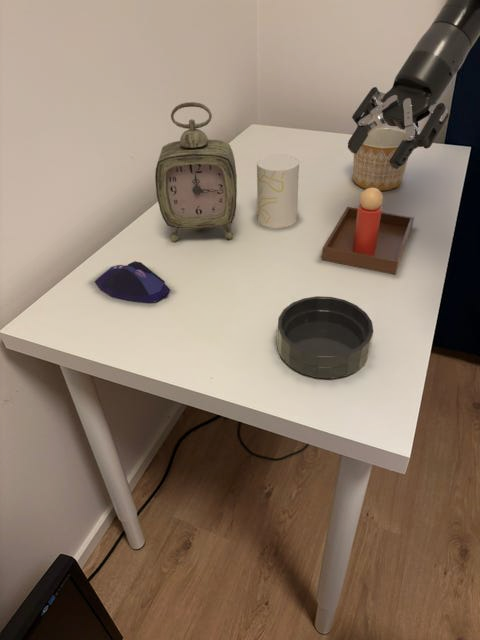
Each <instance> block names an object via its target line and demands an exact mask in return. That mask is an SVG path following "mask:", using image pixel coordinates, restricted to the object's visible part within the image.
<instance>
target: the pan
mask: <svg viewBox="0 0 480 640" xmlns="http://www.w3.org/2000/svg"><path fill="white" fill-rule="evenodd" d="M373 336H374V324H373V321H372V320H371V318H370V317H369V314H368V313H367V312H366V311H364V310H363V309H362V308H361V307H359V305H356V304H355V303H353V302H350V301H349V300H346V299H342V298H338V297H333V296H322V295H321V296H309V297H305V298H300V299H298V300H296V301H294V302H293V301H292V303H290V304H289V305H288V306H286V307H285V308H283V309H282V311H281V313H280V315H279V317H278V319H277V344H276V345H277V346H276V347H277V350H278V354H279V356H280V358H281V359H282V360H283V361H284V362H285V363H286V364H287V366H288V367H290V368H291V369H293V370H295V371H297V372H298V373H300V374H301V375H306V376H309V377H312V378H316V379H337V378H343V377H347V376H349V375H351V374H353V373H355V372H358V371H359V370H360V369H361V368H362V367H363V366H364V365H365V364H366V363H367V362H368V358H369V356H370V353H371V347H372V342H373Z"/></svg>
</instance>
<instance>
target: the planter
mask: <svg viewBox="0 0 480 640" xmlns="http://www.w3.org/2000/svg"><path fill="white" fill-rule="evenodd" d="M402 140H404V141H406V130H405V131H404V130H403V129H399V128H391V127H382V128H376V129H375V130H373V131H371V132H370V133H368V137H367V138H366V140H365V141H364V143H363V144H362V146H361V147H360V149H359V150H358V152H357V153H356V154H354V153H353V163H352V164H353V168H352V169H353V171H352V178H353V181H354V183H355V184H356V185H357V186H359V187H360V188H363V189H364V190H366V189H368V188H376V189H378V190H379V191H380V192H382V191H383V192H384V191H391V190H393V189H396V188H397V187H399V186H400V185H401V183H402V182H403V178H404V175H405V171H406V167H407V164H408V160H409V158H408V159H407V160H406V162H405V163H404V164H403V165H402V166H400V167H399V168H398V169H395V168H393V167H392V166H391V164H390V163H389V161H390V159H391V157H392V156H393V154H394V153H395V151H396V150H397V148H398V147H399V145H400V144H401V142H402Z"/></svg>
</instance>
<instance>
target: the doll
mask: <svg viewBox="0 0 480 640" xmlns="http://www.w3.org/2000/svg"><path fill="white" fill-rule="evenodd" d="M383 202H384V196H383V193H382V191H379V190H378V189H376V188H368V189H364V190H363V191H362V192H361V193H360V196H359V204H358V206H357V208H358V212H357V219H356V227H355V235H354V243H353V251H352V252H357V253H362V254H367V255H373V256H374V255H375V249H376V243H377V237H378V231H379V225H380V218H381V212H383V211H382V210H383V207H382V205H383Z"/></svg>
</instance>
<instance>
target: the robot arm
mask: <svg viewBox="0 0 480 640" xmlns="http://www.w3.org/2000/svg"><path fill="white" fill-rule="evenodd" d="M479 37H480V0H446V1H445V2H444V4H443V5H442V8H441V9H440V11H439V12H438V14H437V16H435V18H434V19H433V22H432V23H431V25H430V26H429V27H428V28H427V30H426V31H425V33H424V34H423V35H422V36H421V37H420V39H419V40H418V41H417V43H416V44H415V46H414V48H413V50H412V51H411V52H410V54H409V55H408V56H407V59H406V60H405V62H404V63H403V65H402V66H401V68H400V70H399V71H398V72H397V74H396V75H395V77H394V80H393V84H392V87H391V88H390V89H389V90H388V91H386V92H382V91H379V89H378V87H377V86H374V87H372V88H371V89H370V90H369V91H368V93H367V94H366V95H365V97H364V99H363V100H362V101H361V103H360V104H359V106H358V107H357V108H356V110H355V112H354V113H353V114H352V116H351V119H352V120H353V121H354V123H355V124H356V128H355V130H354V132H353V133H352V135H351V137H350V138H349V139H348V142H347V149H348V150H349V151H350V153H351V154H353V155H354V154H356V153H357V152H358V150H359V149H360V147H361V146H362V144H363V143H364V141H365V140H366V138H367V137H368V133H370V132H371V131H373V130H375V129H376V128H385V126H390V127H397V128H398V129H399V130H402V131H404V130H405V132H406V141H404V140H402V142H401V144H400V145H399V147H398V148H397V150H396V151H395V153H394V154H393V156H392V157H391V159H390V161H389V163H390V164H391V166H392V167H393V168H395V169H398V168H399V167H400V166H402V165H403V164H404V163H405V162H406V160H407V159H408V160H409V158H410V156H411V155H412V153H413V152H414V150H416V149H418V148H424V149H429V148H431V146H432V145H433V143H434V142H435V140H436V138H437V137H438V135H439V133H440V132H441V130H442V128H443V127H444V125H445V123H446V122H447V120H448V118H449V116H450V114H449V112H448V109H447V107H446V105H445V103H444V102H440V103H438V102H439V100H440V99H441V97H442V96H443V94H444V93H445V91H446V90H447V88H448V87H449V86H450V84H451V82H452V81H453V79H454V78H455V76H456V75H457V73H459V70H460V69H461V67H462V65H463V64H464V62H465V60H466V58H467V57H468V54H469V52H470V51H471V49H472V47H474V45H475V43H476V42H477V40H478V38H479ZM437 103H438V104H437ZM436 104H437V105H436ZM381 114H382V117H380V115H381ZM426 118H428V120H427V121H426V123H425V124H424V126H423V128H422V129H421V130H420V122H421V121H423V120H424V119H426Z"/></svg>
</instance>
